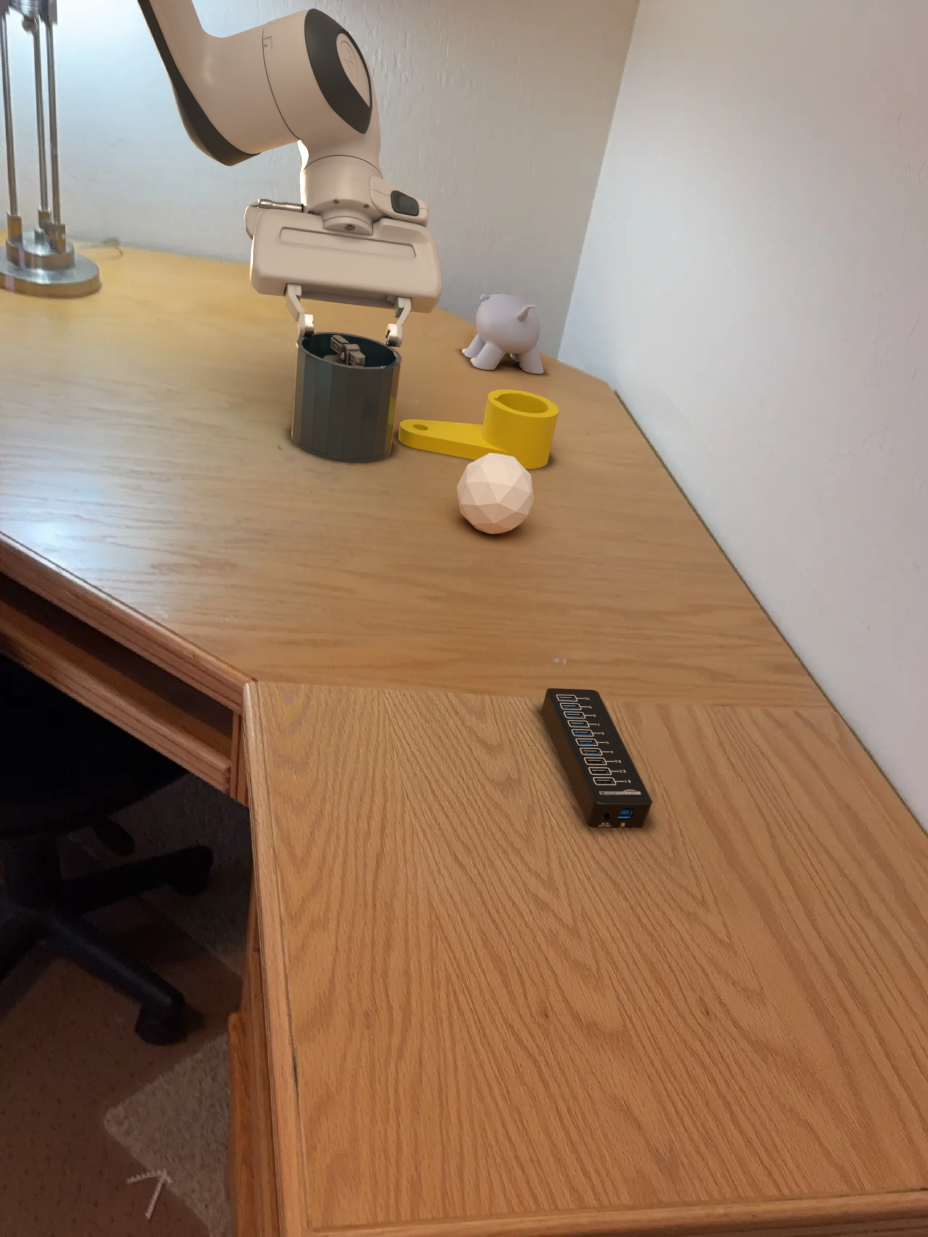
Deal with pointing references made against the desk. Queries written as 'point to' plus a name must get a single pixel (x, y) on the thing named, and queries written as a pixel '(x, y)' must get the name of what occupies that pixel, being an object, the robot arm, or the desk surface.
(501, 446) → the crank
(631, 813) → the multiport hub
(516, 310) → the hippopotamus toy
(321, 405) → the pen cup
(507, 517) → the geometric ball
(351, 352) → the lighter
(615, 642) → the desk surface
